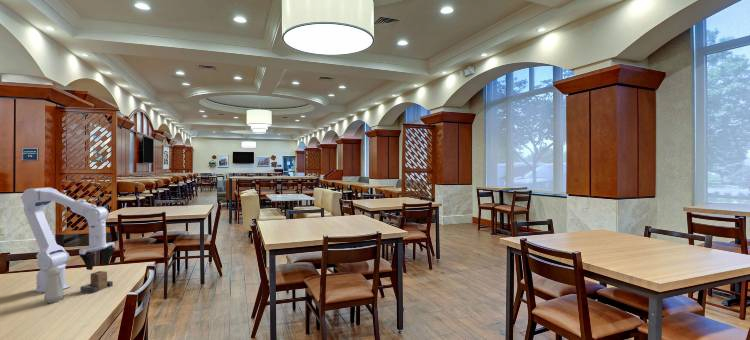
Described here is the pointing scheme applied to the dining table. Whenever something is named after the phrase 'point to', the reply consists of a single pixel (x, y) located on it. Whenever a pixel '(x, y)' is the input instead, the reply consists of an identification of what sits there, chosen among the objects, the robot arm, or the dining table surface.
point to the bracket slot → (93, 287)
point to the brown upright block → (99, 280)
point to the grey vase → (53, 286)
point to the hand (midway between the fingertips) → (98, 267)
